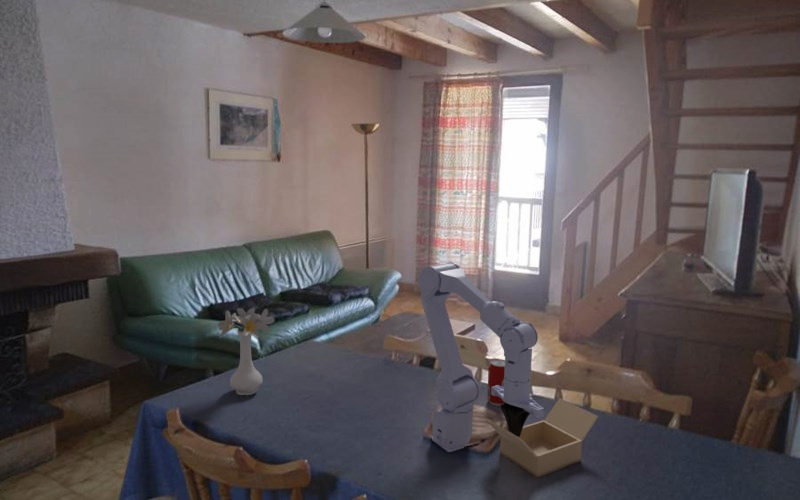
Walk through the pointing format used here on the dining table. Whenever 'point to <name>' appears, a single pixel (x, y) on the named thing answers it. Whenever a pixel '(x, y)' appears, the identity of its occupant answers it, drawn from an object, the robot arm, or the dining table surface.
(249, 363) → the flower vase
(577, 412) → the far flap
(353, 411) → the dining table surface
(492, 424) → the near flap
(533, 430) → the carton
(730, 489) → the dining table surface
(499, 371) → the beverage can
